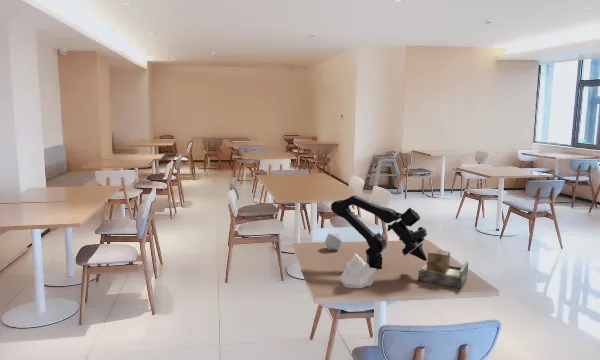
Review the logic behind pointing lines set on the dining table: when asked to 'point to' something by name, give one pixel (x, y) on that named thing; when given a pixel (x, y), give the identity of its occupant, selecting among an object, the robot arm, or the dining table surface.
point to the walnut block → (438, 260)
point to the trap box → (445, 276)
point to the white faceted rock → (357, 273)
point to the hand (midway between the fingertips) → (426, 260)
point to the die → (333, 241)
